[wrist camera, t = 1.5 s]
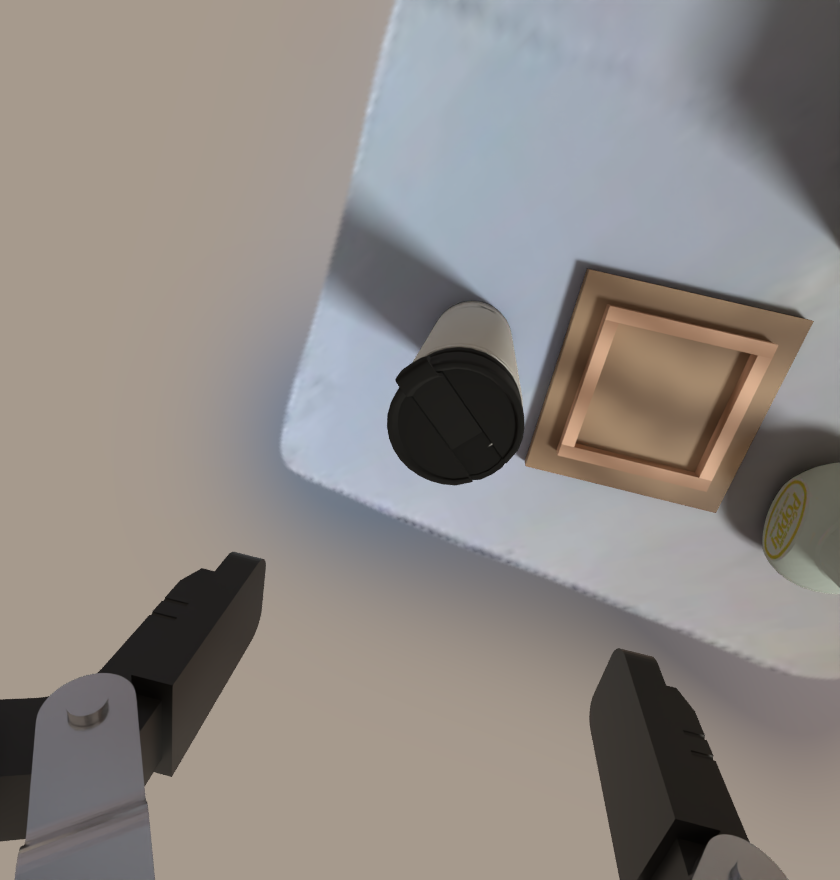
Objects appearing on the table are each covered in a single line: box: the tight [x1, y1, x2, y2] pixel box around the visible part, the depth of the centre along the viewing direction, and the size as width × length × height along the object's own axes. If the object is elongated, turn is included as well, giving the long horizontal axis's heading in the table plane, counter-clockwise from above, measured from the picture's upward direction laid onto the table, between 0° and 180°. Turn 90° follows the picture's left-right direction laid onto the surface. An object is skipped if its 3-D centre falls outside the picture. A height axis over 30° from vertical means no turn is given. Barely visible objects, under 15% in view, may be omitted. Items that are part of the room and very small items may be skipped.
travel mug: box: [387, 301, 524, 485], centre depth 32 cm, size 6×7×20 cm
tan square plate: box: [525, 269, 814, 513], centre depth 40 cm, size 16×16×2 cm
